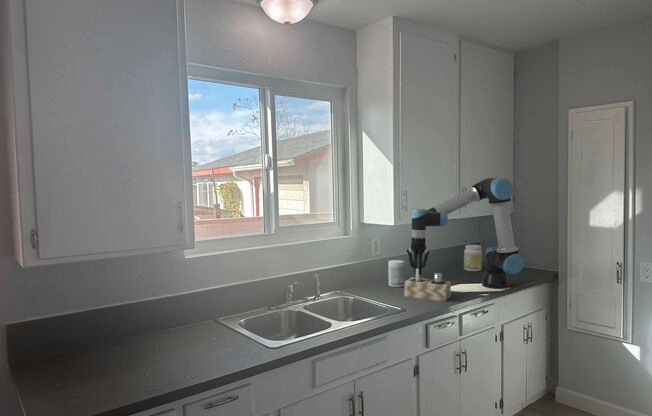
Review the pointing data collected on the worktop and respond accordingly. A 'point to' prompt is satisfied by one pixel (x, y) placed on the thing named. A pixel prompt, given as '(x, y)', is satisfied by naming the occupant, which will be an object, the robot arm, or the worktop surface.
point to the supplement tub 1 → (396, 273)
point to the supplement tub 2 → (473, 258)
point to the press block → (427, 289)
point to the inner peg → (438, 278)
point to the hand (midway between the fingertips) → (417, 280)
